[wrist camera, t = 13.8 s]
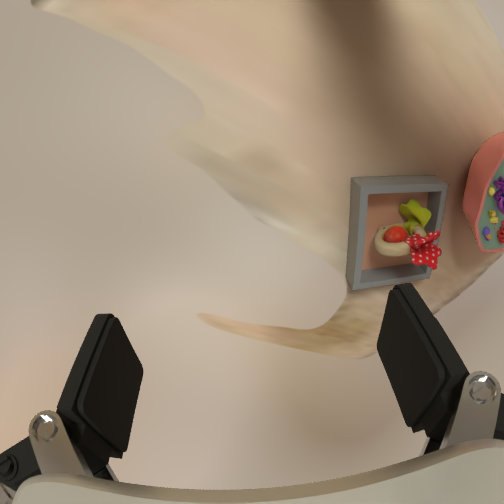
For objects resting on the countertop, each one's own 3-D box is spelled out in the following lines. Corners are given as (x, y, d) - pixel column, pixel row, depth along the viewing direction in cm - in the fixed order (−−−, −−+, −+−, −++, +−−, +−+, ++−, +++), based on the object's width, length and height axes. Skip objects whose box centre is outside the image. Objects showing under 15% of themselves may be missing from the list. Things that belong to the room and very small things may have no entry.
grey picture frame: (351, 177, 36) (360, 186, 33) (434, 175, 36) (448, 183, 33) (345, 275, 44) (352, 290, 41) (419, 265, 44) (429, 278, 41)
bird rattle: (380, 240, 43) (435, 229, 38) (378, 293, 35) (446, 282, 31) (369, 205, 40) (429, 193, 36) (367, 255, 33) (443, 241, 28)
